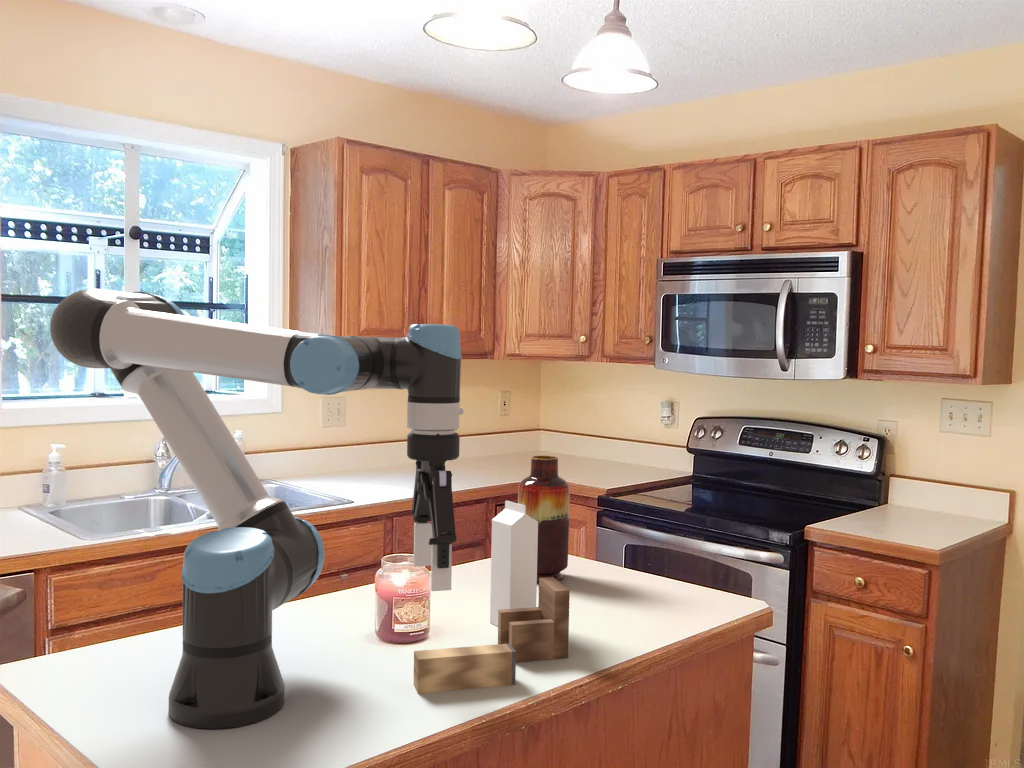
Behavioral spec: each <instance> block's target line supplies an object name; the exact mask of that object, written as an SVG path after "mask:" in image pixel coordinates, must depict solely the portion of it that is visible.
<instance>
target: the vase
mask: <svg viewBox="0 0 1024 768" xmlns="http://www.w3.org/2000/svg"><path fill="white" fill-rule="evenodd" d="M517 489H518V490H517V503H518V504H522V505H525V507H526V515H528V516H530V517H531V518H533V519H534V520H536V521H538V548H537V582H539V578H544V577H554V578H555V579H556V580H557V581H559V580H561V579H562V578H564V575H563V574H562V572H563V571H564V570H566V569H567V568H568V564H569V561H568V560H569V539H570V538H569V537H570V535H569V533H570V532H569V531H570V500H571V499H570V493H571V492H570V484H569V483H568V482H567V480H566V479H564V478H562V477H560V476H559V457H558V456H554V455H533V456H531V459H530V474H529V475H528V476H526V477H525V478H522V480H521V481H520V482H519V484H518V488H517ZM562 580H563V579H562ZM562 580H561V581H562ZM559 582H560V581H559Z"/></svg>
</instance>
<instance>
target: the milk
mask: <svg viewBox="0 0 1024 768" xmlns="http://www.w3.org/2000/svg"><path fill="white" fill-rule="evenodd" d="M537 548H538V521H536V520H534V519H533V518H531V517H530V516H528V515H526V507H525V505H522V504H518V502H513V501H510V500H505V501H504V508H503V510H502V511H500V512H499V513H497V514H496V516H495V517H493V518H492V519H491V548H490V549H491V550H490V551H491V554H490V594H489V595H490V597H489V599H490V600H489V601H490V602H489V605H490V606H489V607H490V608H489V609H490V610H489V611H490V612H489V623H490V624H491V625H494V626H495V627H498V610H503V609H517V608H532V607H537V585H538V583H537Z"/></svg>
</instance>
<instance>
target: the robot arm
mask: <svg viewBox="0 0 1024 768" xmlns="http://www.w3.org/2000/svg"><path fill="white" fill-rule="evenodd" d="M50 318H51V319H50V324H49V333H50V337H51V340H52V343H53V345H54V346H55V348H56V350H57V352H58V353H59V354H60V355H61V356H62V357H63V358H64V359H65V360H67V361H69V362H70V363H72V364H74V365H77V366H79V367H81V368H82V367H83V368H88V369H89V368H90V369H110V370H111V372H112V374H113V376H114V377H115V379H116V381H117V382H118V384H119V385H120V387H121V389H122V390H123V391H125V392H126V393H127V392H129V393H133V394H137V395H138V396H139V398H140V400H141V402H142V403H143V404H144V406H145V407H146V409H147V411H148V413H149V414H150V416H151V418H152V419H153V420H154V422H155V424H156V426H157V428H158V429H159V431H160V433H161V434H162V435H163V439H165V441H166V443H167V444H168V446H169V448H170V449H171V450H172V452H173V454H174V456H175V457H176V459H177V461H178V462H179V464H180V466H181V467H182V469H183V470H184V472H185V473H186V475H187V477H188V479H189V480H190V482H191V484H192V486H193V487H194V488H195V490H196V492H197V494H198V495H199V497H200V498H201V500H202V501H203V503H204V505H205V506H206V508H207V510H208V512H209V513H210V514H211V517H212V518H213V520H214V521H215V523H216V525H217V530H212V531H210V532H205V533H204V534H201V535H199V536H197V537H195V538H193V539H192V540H191V541H190V542H189V543H188V545H187V546H186V548H185V550H184V553H183V562H182V567H181V572H180V573H181V575H180V576H181V580H182V655H181V657H180V661H179V664H178V667H177V670H176V673H175V674H174V675H175V676H174V678H173V679H174V680H173V683H172V684H171V688H170V691H169V693H168V715H169V717H170V719H172V720H173V721H175V722H176V723H178V724H179V725H183V726H186V727H190V728H197V729H210V730H211V729H227V728H228V729H229V728H235V727H241V726H245V725H248V724H249V725H250V724H252V723H255V722H260V721H261V720H265V719H266V718H268V717H270V716H272V715H274V714H276V713H277V712H278V711H279V710H280V709H281V708H283V706H284V704H285V699H286V698H285V695H286V694H285V693H286V692H285V683H284V682H285V681H284V678H283V675H282V673H281V669H280V667H279V665H278V661H277V659H276V655H275V652H274V649H273V611H274V610H276V609H277V608H280V607H281V606H283V605H284V604H285V603H287V602H289V601H290V600H293V599H296V598H298V597H299V596H300V595H301V594H304V593H305V592H306V591H307V590H308V589H309V588H310V587H311V586H312V585H313V584H314V583H315V582H316V581H317V579H318V578H319V577H320V574H321V573H322V570H323V567H324V562H325V557H326V556H325V553H326V552H325V546H324V545H325V544H324V541H323V539H322V536H321V534H320V532H319V531H318V530H317V528H316V527H315V526H314V525H313V524H312V523H311V522H309V521H307V520H306V519H303V518H300V517H297V516H294V514H293V513H292V511H291V509H290V508H289V506H288V505H287V503H286V501H285V500H284V499H281V498H278V497H273V496H271V495H269V493H268V491H267V490H266V488H265V487H264V484H263V483H262V482H261V481H260V479H259V477H258V475H257V474H256V472H255V471H254V468H253V467H252V466H251V464H250V462H249V461H248V459H247V458H246V456H245V454H244V452H243V451H242V449H241V448H240V446H239V445H238V443H237V441H236V440H235V438H234V436H233V435H232V434H231V431H230V429H229V428H228V427H227V425H226V423H225V422H224V420H223V419H222V417H221V415H220V413H219V411H217V409H216V407H215V405H214V403H213V402H212V401H211V399H210V397H209V396H208V394H207V393H206V391H205V388H203V386H202V384H201V383H200V381H199V379H198V378H197V376H196V374H195V373H197V374H203V375H211V376H215V377H223V378H230V379H231V378H232V379H237V380H242V381H243V380H246V381H249V382H250V381H252V382H257V383H258V382H259V383H265V384H271V385H277V386H278V385H280V386H285V387H293V388H298V389H302V390H304V391H306V392H308V393H311V394H316V395H325V396H330V395H337V394H339V393H344V392H345V393H346V392H352V391H358V390H359V391H360V390H361V391H362V390H368V389H369V390H371V389H376V390H377V389H379V390H386V389H388V390H393V389H394V390H407V394H408V395H407V404H406V406H407V407H406V408H407V409H406V410H407V411H406V412H407V413H406V420H407V421H406V427H407V428H408V429H409V430H410V432H408V434H407V436H406V438H407V439H406V441H407V442H406V455H407V458H409V459H410V460H413V461H415V466H416V467H415V478H414V485H413V486H414V487H413V494H412V495H413V496H412V497H413V498H412V506H411V510H410V512H411V515H412V516H413V517H412V518H413V521H414V523H413V567H429V566H430V591H431V592H440V591H441V592H443V591H452V571H453V570H452V565H453V564H452V563H453V554H452V553H453V543H456V541H457V535H456V534H457V533H456V523H455V511H454V500H453V489H452V488H453V486H452V484H453V483H452V481H453V479H452V477H453V473H452V471H451V470H447V469H446V465H445V464H446V462H447V461H454V460H457V459H458V458H459V457H460V443H461V442H460V438H461V437H460V435H459V433H458V432H456V431H457V430H459V429H460V415H461V416H462V415H463V414H464V408H462V407H460V406H461V405H460V404H461V403H460V402H461V376H462V374H461V372H462V371H461V369H462V368H461V367H462V359H463V355H462V349H461V346H462V345H461V332H460V330H459V328H458V327H457V326H456V325H454V324H443V323H441V324H440V323H439V324H437V323H436V324H435V323H434V324H433V323H428V324H427V323H420V324H419V323H413V324H410V326H409V328H408V333H407V336H404V337H400V336H399V337H386V336H385V337H384V336H359V335H346V336H343V335H342V336H341V335H331V334H323V333H315V332H307V331H300V330H292V329H285V328H279V327H278V328H277V327H271V326H262V325H256V324H249V323H241V322H234V321H233V322H232V321H226V320H219V319H211V318H204V317H197V316H189V315H185V314H184V312H183V310H182V309H181V308H180V307H179V306H178V305H177V304H175V303H174V302H173V301H171V300H169V299H168V298H166V297H163V296H161V295H157V294H154V293H151V292H145V291H131V292H129V291H122V290H120V291H119V290H114V289H113V290H111V289H103V288H87V289H86V288H85V289H81V290H78V291H74V292H73V293H71V294H69V295H67V296H65V298H64V299H62V300H61V301H59V303H58V304H57V305H56V307H55V309H54V311H53V313H52V315H51V317H50Z"/></svg>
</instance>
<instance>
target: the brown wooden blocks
mask: <svg viewBox="0 0 1024 768" xmlns="http://www.w3.org/2000/svg"><path fill="white" fill-rule="evenodd" d="M570 593H571V591H570V589H569V588H567V587H566V586H565V584H562V583H561V581H557V580H556V579H555V578H554V577H544V578H539V583H538V605H537V606H536V607H532V608H517V609H503V610H498V626H497V644H510V645H511V646H512V647H513V648H514V650H515V651H516V663H523V662H525V663H526V662H533V661H545V660H546V661H547V660H556V659H557V660H559V659H569V639H570V637H569V632H570V630H569V629H570V628H569V627H570V598H571V597H570Z"/></svg>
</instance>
